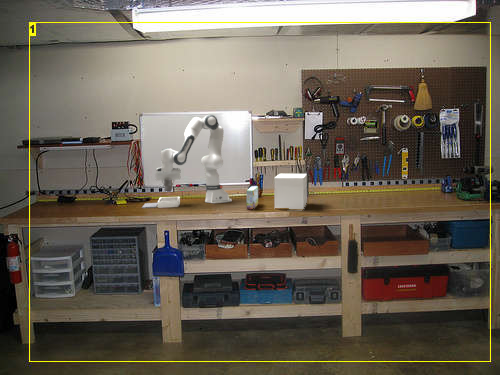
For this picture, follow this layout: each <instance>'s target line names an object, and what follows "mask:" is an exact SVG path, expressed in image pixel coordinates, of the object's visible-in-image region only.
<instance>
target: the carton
mask: <svg viewBox="0 0 500 375" xmlns="http://www.w3.org/2000/svg"><path fill="white" fill-rule="evenodd" d="M157 203H158V206H157V208H158V209H160V208H161V209H162V208H178V207H180V203H181V197H180V196H168V197H161V196H160V197H159V199H158V200H157Z"/></svg>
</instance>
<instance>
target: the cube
mask: <svg viewBox="0 0 500 375" xmlns="http://www.w3.org/2000/svg"><path fill="white" fill-rule="evenodd" d="M273 178H274V179H273V180H274V182H273V185H274V187H273V188H274V190H273V191H274V192H273V193H274V194H273V195H274V209H275V208H289V209H304V210H305V208H306V206H307V204H308V201H307V200H308V199H307V197H308V195H307V194H308V185H307V182H308V174H307V173H278V174H277V175H276V176H274V177H273ZM306 203H307V204H306ZM305 205H306V206H305ZM304 207H305V208H304Z"/></svg>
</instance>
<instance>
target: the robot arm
mask: <svg viewBox="0 0 500 375" xmlns="http://www.w3.org/2000/svg"><path fill="white" fill-rule="evenodd" d="M202 129H204V130H209V132H210V134H209V140H208V145H207V148H208V154H206V155H204V156H202V158H201V160H200V162H201V164H202V166H203V170H204V174H205V184H206V185H205V191H206V193H205V200H204V202H205V203H210V204H222V203H231V202H232V198H230V195H229V193H228V192H227V191H226V190H224V189H223V185H221V184H220V174H219V173H218V171H217V169H220V168H222V167H223V164H224V160H223V158H222V146H223V141H224V140H223V139H224V128H223V127H222V126H220V124H219V122H218V118H217V116H215V115H214V114H207V115H205V116H204V117H203V118H200V117H198V116H195V117H193V118H192V119H191V120H190V121H189V123H188V125H187V126H186V128H185V130H184V133H183V136H184V142H183V144H182V145H181V148H180V149H179V151H177V150H174V149H172V148H171V147H167V148H163V149H161V151H160V160H161V166H159V167H157V168H156V169H155V171H156V172H155V174H154V180H155V181H157V182H158V181H161V183H162V184H163V187H164V180H165V179H171V180H172V183H171V184H172V186H174V182H175V181H176V180H181V170H182V169H180V168H179V167H174V164H175V165H177V166H183V165H185V164H186V163H187V161H188V160H187V158H188V155H189V152H190V150H191V148H192V146H193V144H194V142H195V140H196V139H197V138H198V137H199V134H200V132H201V131H202Z"/></svg>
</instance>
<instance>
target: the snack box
mask: <svg viewBox="0 0 500 375" xmlns="http://www.w3.org/2000/svg"><path fill="white" fill-rule="evenodd" d="M258 205H259V185H258V186H257V185H251V186H250V187H249V188H248V189H246V210H247V209H253V208H254V209H256V207H257V206H258ZM254 209H253V210H254Z"/></svg>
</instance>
